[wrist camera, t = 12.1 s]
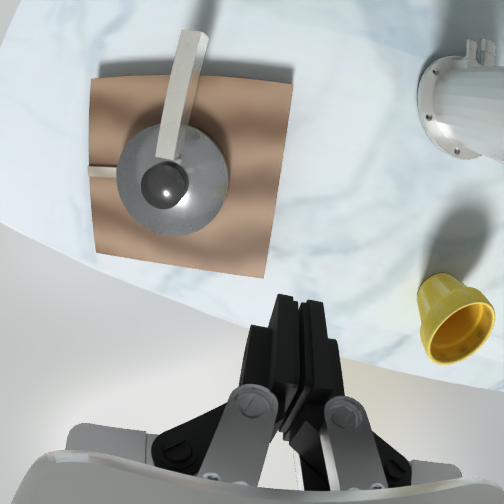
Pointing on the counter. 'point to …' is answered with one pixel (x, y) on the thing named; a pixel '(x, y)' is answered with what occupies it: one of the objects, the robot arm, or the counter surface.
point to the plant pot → (452, 319)
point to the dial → (175, 157)
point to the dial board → (234, 147)
